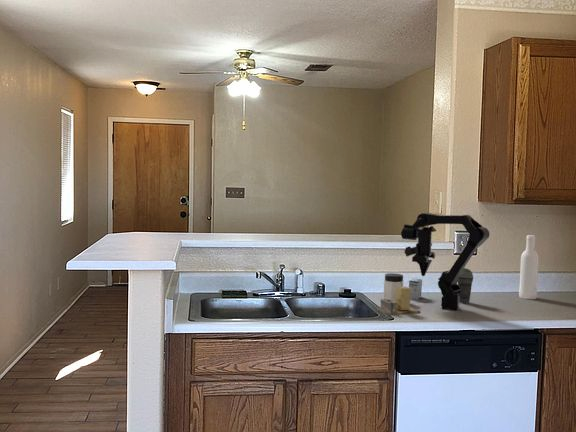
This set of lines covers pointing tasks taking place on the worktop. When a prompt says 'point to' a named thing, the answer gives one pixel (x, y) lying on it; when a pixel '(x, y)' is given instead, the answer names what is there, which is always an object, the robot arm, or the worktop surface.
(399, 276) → the lidded container
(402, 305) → the tan rectangular block
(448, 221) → the robot arm
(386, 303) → the board
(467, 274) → the beverage cup
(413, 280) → the medicine box
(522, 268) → the bottle
